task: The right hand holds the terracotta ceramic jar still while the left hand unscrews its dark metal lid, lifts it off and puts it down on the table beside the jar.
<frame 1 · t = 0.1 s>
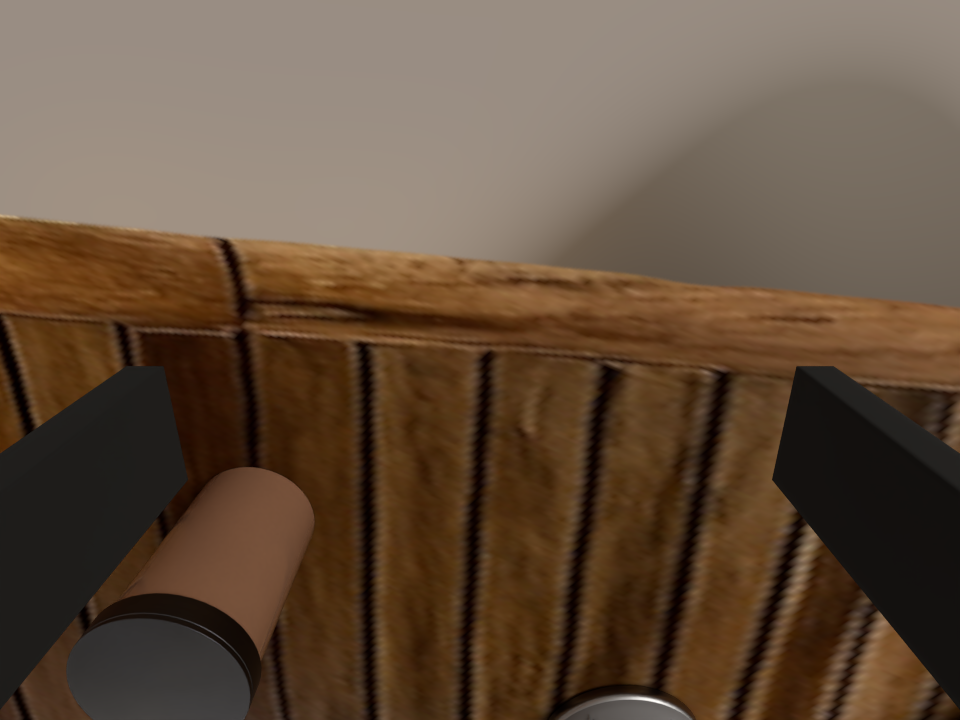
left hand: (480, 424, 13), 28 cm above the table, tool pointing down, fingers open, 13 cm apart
jar: (256, 516, 47), on the table
lid: (162, 682, 33), point 15 cm above the table, screwed on, not yet turned
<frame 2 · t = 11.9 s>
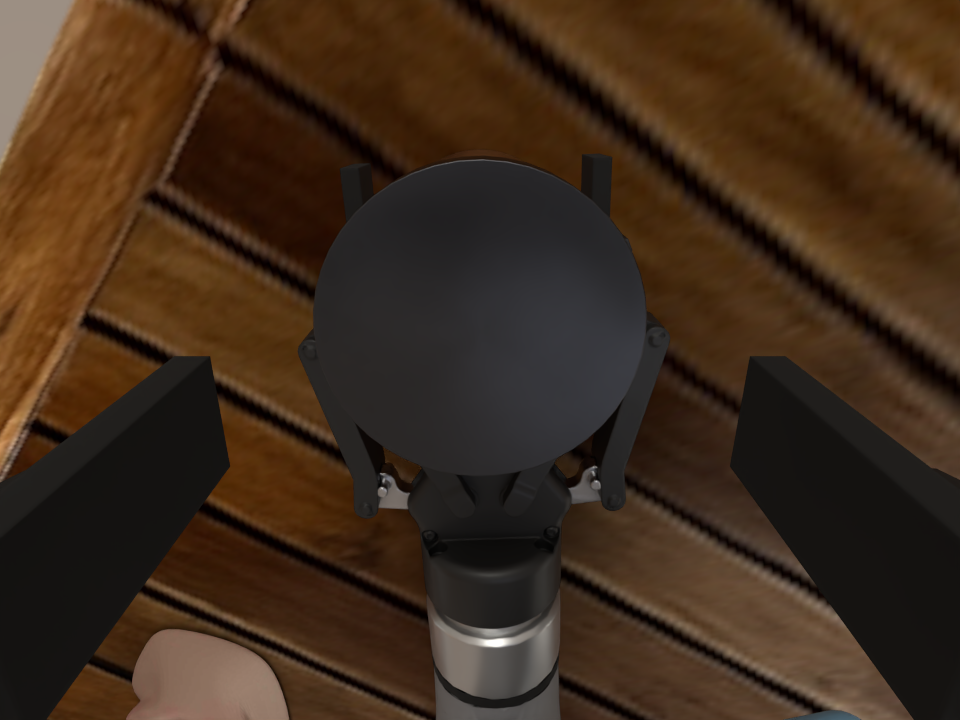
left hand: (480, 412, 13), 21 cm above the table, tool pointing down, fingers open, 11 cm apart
jar: (480, 240, 32), on the table, touching right hand
anatomical model: (213, 693, 45), on the table
lid: (479, 330, 18), point 15 cm above the table, screwed on, not yet turned
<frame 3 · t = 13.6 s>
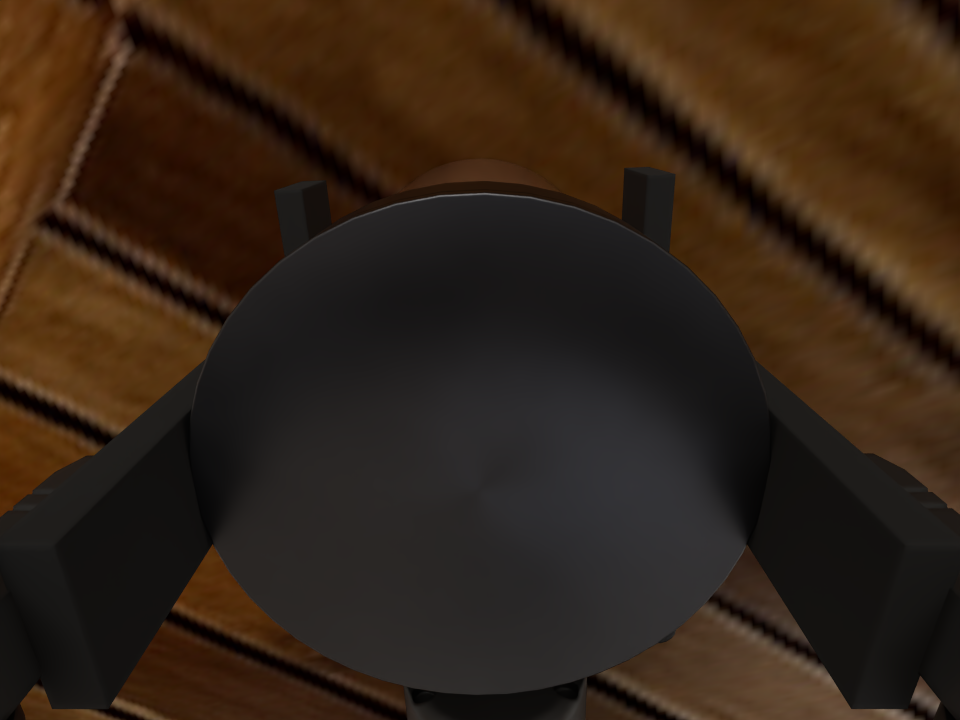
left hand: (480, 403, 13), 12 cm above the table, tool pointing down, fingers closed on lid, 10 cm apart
jar: (480, 276, 25), on the table, touching right hand
lid: (480, 478, 11), point 15 cm above the table, screwed on, not yet turned, touching left hand
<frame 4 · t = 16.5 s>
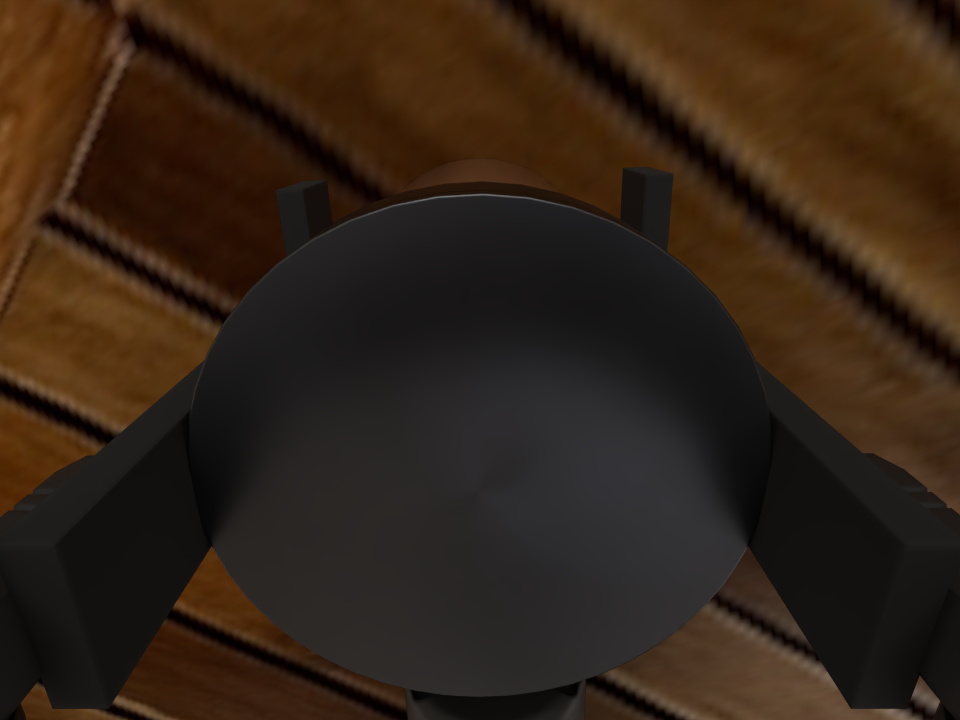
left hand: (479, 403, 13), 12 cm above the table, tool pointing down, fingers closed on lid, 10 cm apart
jar: (479, 276, 25), on the table, touching right hand
lid: (479, 480, 11), point 15 cm above the table, turned 68° so far, risen 0.2 cm, still on its thread, touching left hand
when the left hand's fingers open (0 cm above the table, at t = 23.3 s): lid drops 2 cm, point 2 cm above the table.
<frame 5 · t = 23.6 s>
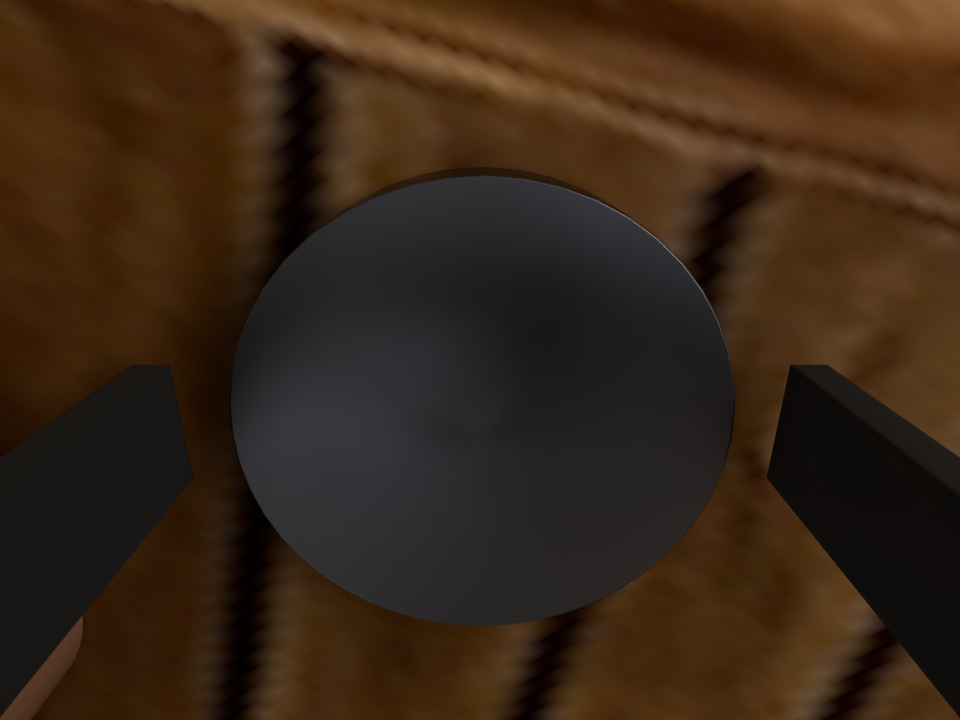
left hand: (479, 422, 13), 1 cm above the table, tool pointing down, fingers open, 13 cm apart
lid: (482, 427, 12), point 2 cm above the table, off its thread
when the right hand's fingers open (6 cm above the table, at t = 24.4 s): jar stays where it is, on the table.
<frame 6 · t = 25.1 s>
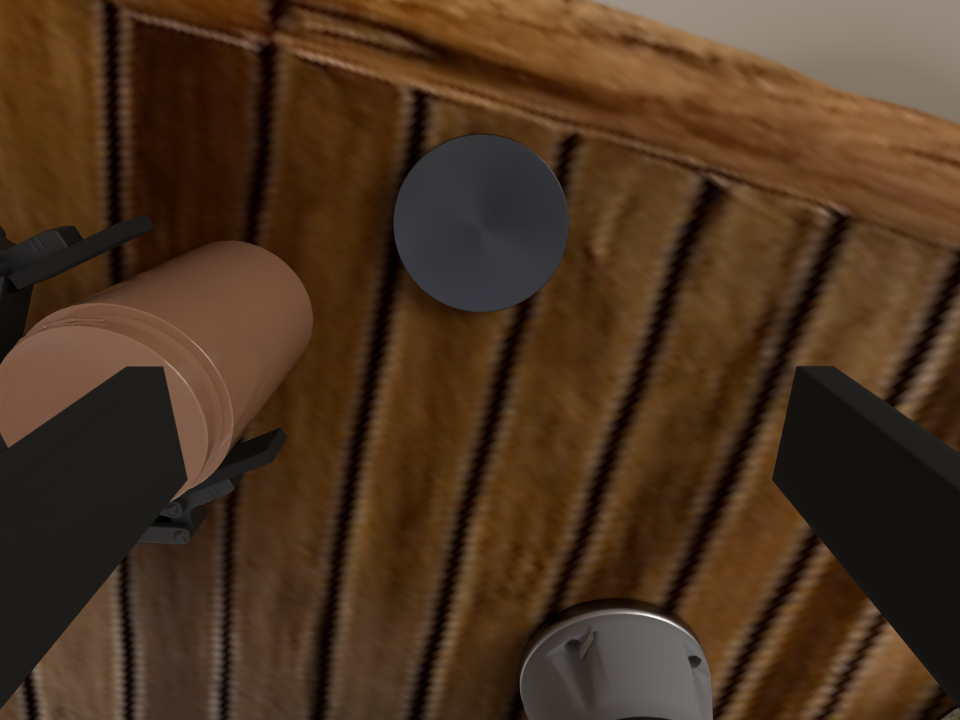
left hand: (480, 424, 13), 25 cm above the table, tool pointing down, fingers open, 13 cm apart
jar: (240, 313, 38), on the table
lid: (481, 227, 34), point 2 cm above the table, off its thread
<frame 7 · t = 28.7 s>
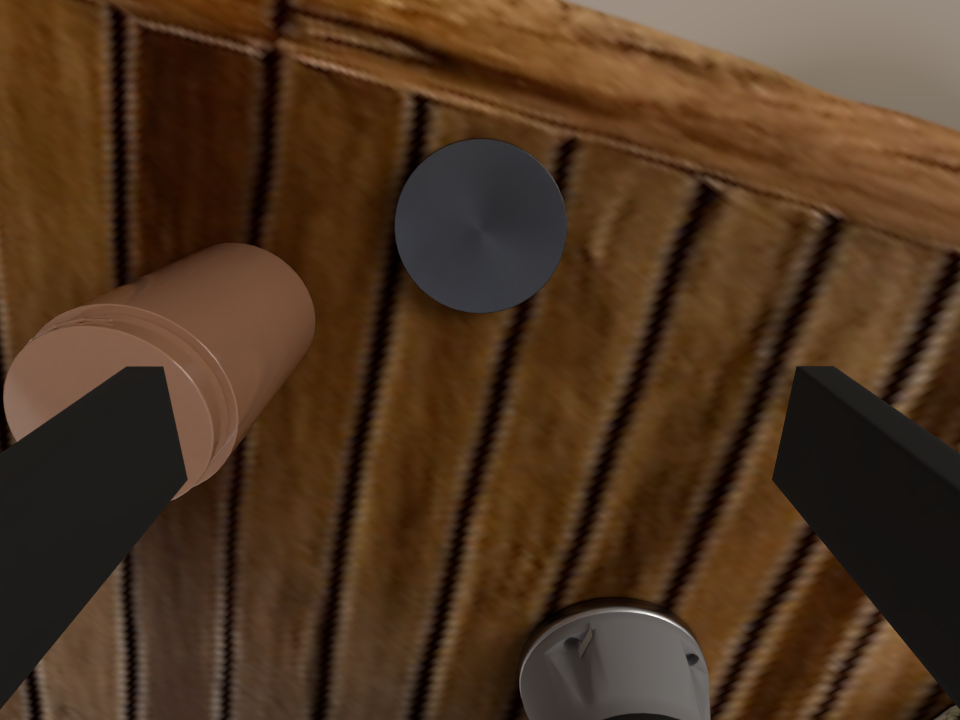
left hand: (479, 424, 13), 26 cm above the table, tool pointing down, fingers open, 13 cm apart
jar: (243, 314, 38), on the table
lid: (480, 229, 35), point 2 cm above the table, off its thread
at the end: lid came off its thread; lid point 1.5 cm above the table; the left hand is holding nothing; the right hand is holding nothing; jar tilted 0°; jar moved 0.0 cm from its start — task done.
